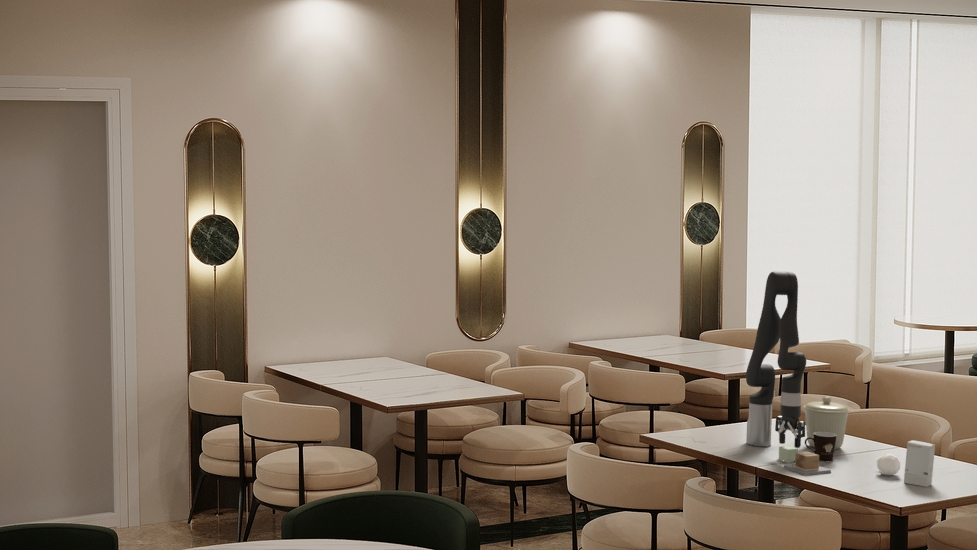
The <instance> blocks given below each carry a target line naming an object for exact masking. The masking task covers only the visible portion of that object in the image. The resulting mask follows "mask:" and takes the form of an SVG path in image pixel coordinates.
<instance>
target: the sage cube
mask: <svg viewBox="0 0 977 550" xmlns="http://www.w3.org/2000/svg"><path fill="white" fill-rule="evenodd" d="M795 453H799V448H795V447H794V446H791V445H787V446H786V445H784V446H779V447H778V460H779V459H781V460H780V461H782V460H784V461H783V462H785V461H786V462H785V463H795V462H794V461H795Z"/></svg>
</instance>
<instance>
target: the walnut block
mask: <svg viewBox="0 0 977 550" xmlns="http://www.w3.org/2000/svg"><path fill="white" fill-rule="evenodd" d="M794 464H795V466H796V467H799V468H802V469H805V470H809V469H819V466H820V461H819V455H817V454H815V453H814V452H810V451H798V453H795V462H794Z"/></svg>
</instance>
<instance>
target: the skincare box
mask: <svg viewBox="0 0 977 550" xmlns="http://www.w3.org/2000/svg"><path fill="white" fill-rule="evenodd" d="M935 452H936V444H934V443H929V442H924V441H919V440H914V439H913V440H909V441H907V445H906V452H905V453H906V455H905V467H904V475H903V483H904V484H908V485H912V486H913V485H914V486H919V487H923V488H924V487H926V488H927V487H930V486H932V482H933V475H934V474H933V472H934V471H933V470H934V464H935V463H934V461H935Z"/></svg>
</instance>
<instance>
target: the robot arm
mask: <svg viewBox="0 0 977 550" xmlns="http://www.w3.org/2000/svg"><path fill="white" fill-rule="evenodd" d="M765 283H766V284H765V290H764V297H763V304H762V309H761V314H760V319H759V321H758V326H757V331H756V337H755V341H754V346H753V349H752V353H751V356H750V359H749V362H748V365H747V367H746V371H745V372H746V373H745V382H746V384H747V385H748V387H751V388H752V387H753V388H760V390H758V391H757V392H755V393H752V394H750V395H749V400H748V419H747V421H746V438H745V439H746V442H745V443H747V442H748V443H747V444H748V445H749V444H750V446H753V445H754V446H753V447H761V446H766V447H770V446H771V445H772V424H773V423H772V422H773V400H774V396H775V385H776V384H775V383H776V370H775V368H774V367H773V365H771V364H763V361H764V359H765V358H766V357H767V356H768V354H770V352H771V351H772V350H773V349H774V348H775V347H776V345H777V344H778V343H779V351H778V355H777V366H778V367H779V369H780V370H781V371H793V372H792V374H791V375H787V376H783V377H782V378H781V393H780V394H781V395H780V411H779V412H780V415H777V416H776V417H775V427H774V428H775V430H774V431H775V432H777V433H778V441H779V442H778V443H779V444H782V445H783V444H785V443H786V433H787V431H790V432H791V433H792V434H793V436H794V445H793V447H794V448H798V449H799V448H800V447H801V446H802V445H801V444H802V443H801V441H802V438H805V437H806V421H804V420H803V421H800V417H801V415H802V413H801V411H802V408H801V407H802V396H801V390H802V388H801V387H802V386H801V385H802V384H801V383H802V379H803V376H804V372H805V368H806V366H807V356H806V355H805V354H804V353H803V352H801V351H800V352H798V351H796V352H795V351H794V352H793V351H790V352H789V349H790V348H793V347H797V346H799V344H800V337H799V330H798V329H799V328H798V304H799V303H798V300H799V299H798V298H799V296H798V295H799V282H798V277H797V275H796V273H794V272H793V271H771V272H770V273H769V274H768V276H767V279H766V282H765ZM777 296H787V302H786V303H787V304H786V308H785V309H784V312H783V314H782V316H780V313H779V312H778V309H777V307H776V298H777Z"/></svg>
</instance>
